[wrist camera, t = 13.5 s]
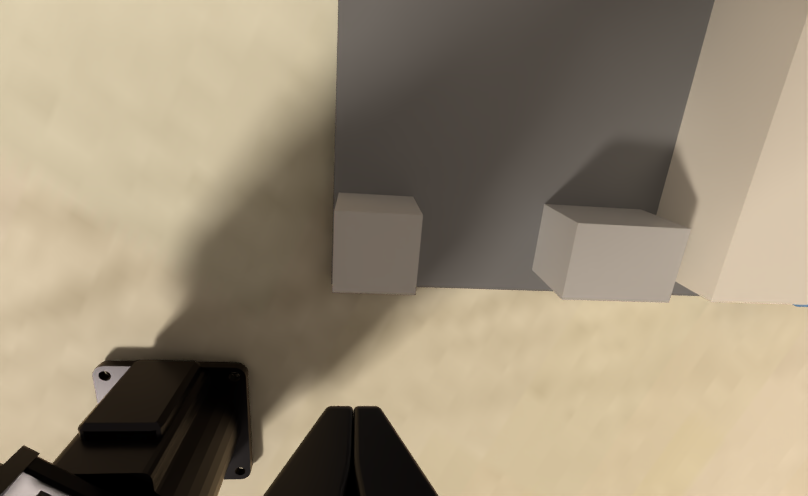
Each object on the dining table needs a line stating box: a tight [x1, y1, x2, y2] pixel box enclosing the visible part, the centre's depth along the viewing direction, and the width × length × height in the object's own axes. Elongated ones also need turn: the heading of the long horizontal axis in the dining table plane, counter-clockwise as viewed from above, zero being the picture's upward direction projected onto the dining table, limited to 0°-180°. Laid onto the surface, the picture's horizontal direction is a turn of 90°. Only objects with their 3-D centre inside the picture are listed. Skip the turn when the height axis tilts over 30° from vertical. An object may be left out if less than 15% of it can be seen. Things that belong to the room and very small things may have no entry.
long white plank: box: [656, 0, 808, 305], centre depth 15 cm, size 16×4×4 cm, turn 176°
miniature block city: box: [332, 0, 808, 307], centre depth 15 cm, size 19×22×4 cm
